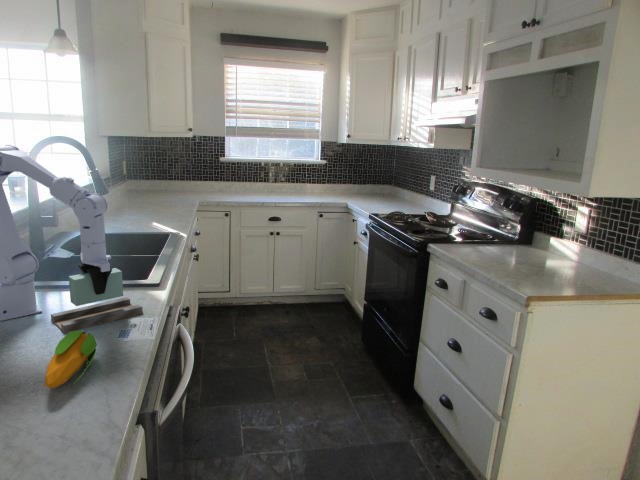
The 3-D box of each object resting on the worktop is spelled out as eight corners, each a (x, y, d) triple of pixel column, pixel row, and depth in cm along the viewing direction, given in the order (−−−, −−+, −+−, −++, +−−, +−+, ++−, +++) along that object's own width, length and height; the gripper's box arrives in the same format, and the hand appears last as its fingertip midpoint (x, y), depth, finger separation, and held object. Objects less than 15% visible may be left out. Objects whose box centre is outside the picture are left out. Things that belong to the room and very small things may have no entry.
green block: (76, 306, 118) (74, 280, 116) (70, 301, 121) (68, 276, 119) (123, 295, 126) (121, 271, 125) (117, 292, 129) (115, 267, 128)
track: (64, 332, 114) (64, 326, 114) (51, 320, 121) (50, 314, 121) (142, 313, 128) (142, 306, 128) (127, 302, 135) (126, 297, 135)
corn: (100, 320, 104) (70, 363, 85) (105, 351, 106) (76, 400, 87) (64, 323, 103) (26, 367, 84) (70, 354, 105) (33, 405, 86)
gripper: (120, 244, 118) (123, 295, 121) (98, 234, 128) (101, 281, 131) (91, 248, 113) (95, 301, 116) (70, 237, 123) (74, 286, 126)
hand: (96, 291), depth 123 cm, fingers closed on green block, 4 cm apart
